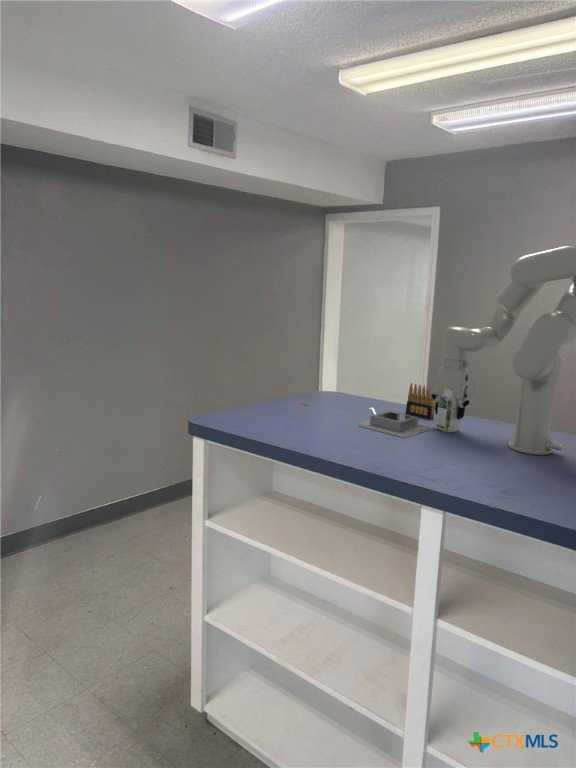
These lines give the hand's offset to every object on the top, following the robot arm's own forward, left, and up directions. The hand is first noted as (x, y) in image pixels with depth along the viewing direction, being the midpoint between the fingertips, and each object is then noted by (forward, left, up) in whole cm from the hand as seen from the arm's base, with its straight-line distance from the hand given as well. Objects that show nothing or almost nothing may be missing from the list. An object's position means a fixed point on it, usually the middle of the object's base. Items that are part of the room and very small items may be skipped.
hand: (449, 415), depth 179 cm
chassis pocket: (+13, +13, -5) cm, 19 cm away
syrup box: (0, 0, -5) cm, 5 cm away
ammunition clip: (+16, -9, -5) cm, 19 cm away
